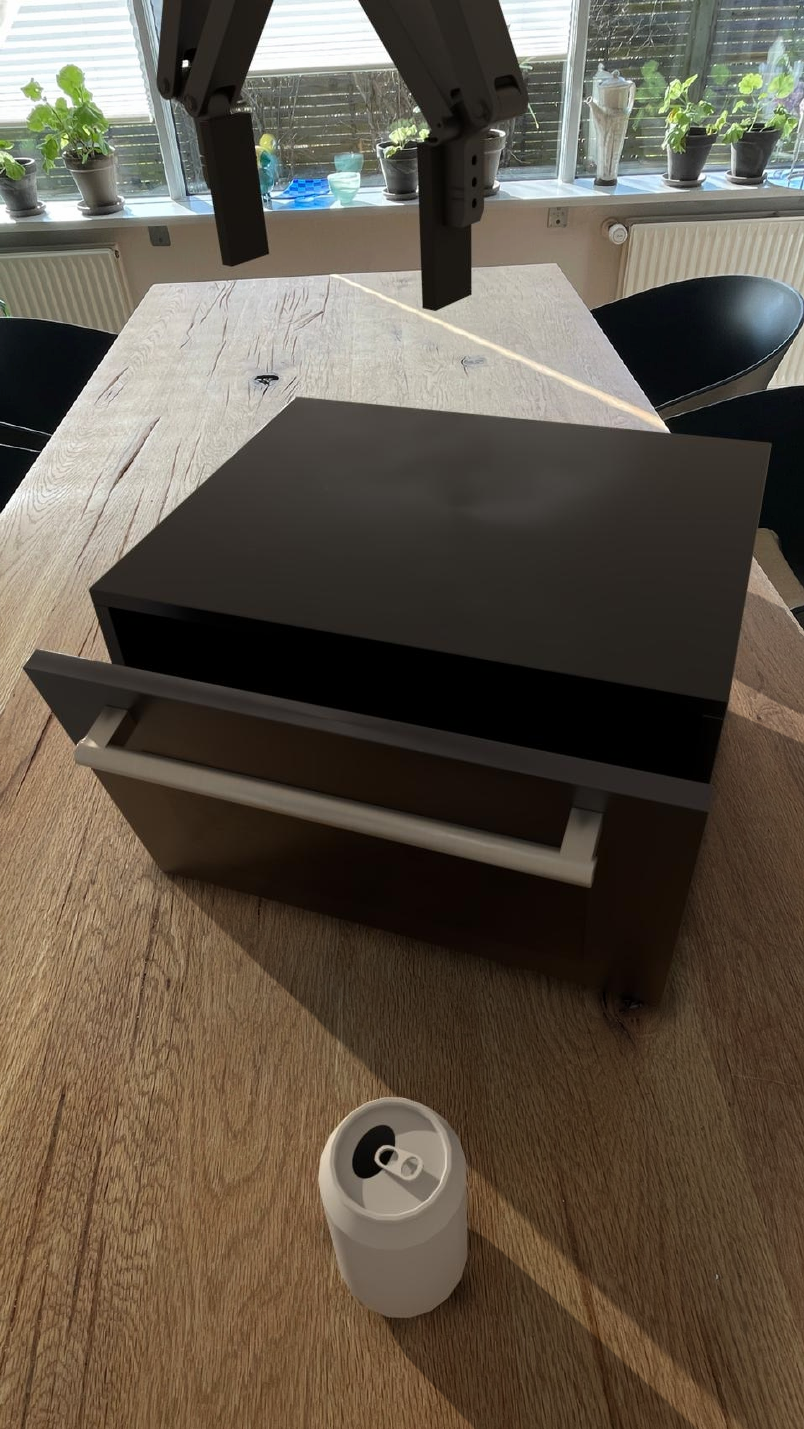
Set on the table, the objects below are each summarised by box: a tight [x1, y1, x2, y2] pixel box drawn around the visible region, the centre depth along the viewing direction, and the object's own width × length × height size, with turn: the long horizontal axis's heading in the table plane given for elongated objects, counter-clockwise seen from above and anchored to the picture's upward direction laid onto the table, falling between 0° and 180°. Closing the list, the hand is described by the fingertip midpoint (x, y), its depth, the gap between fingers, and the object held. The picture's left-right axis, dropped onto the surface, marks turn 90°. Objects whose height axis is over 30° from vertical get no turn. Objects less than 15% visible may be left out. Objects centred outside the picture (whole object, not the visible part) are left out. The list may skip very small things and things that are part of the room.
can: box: [317, 1096, 468, 1319], centre depth 51 cm, size 8×8×12 cm
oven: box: [88, 396, 772, 785], centre depth 75 cm, size 32×40×26 cm
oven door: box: [21, 648, 715, 1007], centre depth 61 cm, size 5×40×26 cm, turn 70°
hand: (339, 280), depth 47 cm, fingers open, 13 cm apart
